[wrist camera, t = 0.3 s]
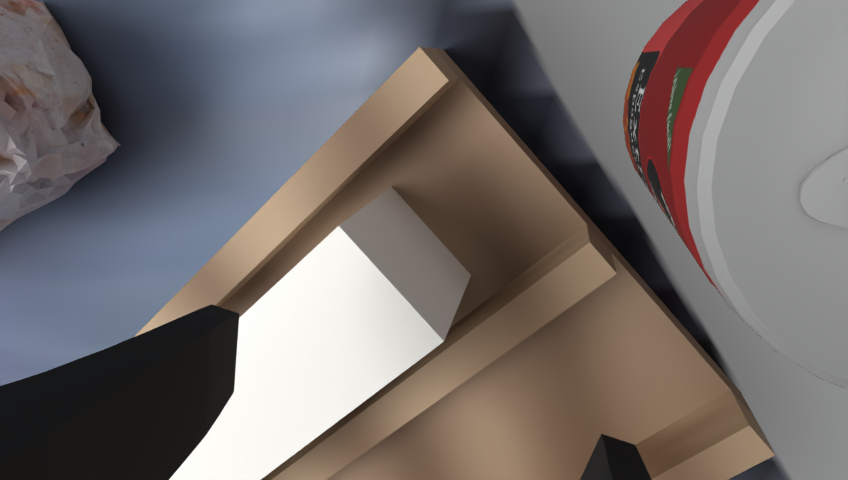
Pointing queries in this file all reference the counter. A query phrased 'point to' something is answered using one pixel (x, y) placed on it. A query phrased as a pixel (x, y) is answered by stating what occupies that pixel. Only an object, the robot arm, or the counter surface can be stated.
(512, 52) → the counter surface
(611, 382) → the slot board
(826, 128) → the canned food
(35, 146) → the food item
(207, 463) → the white bar
